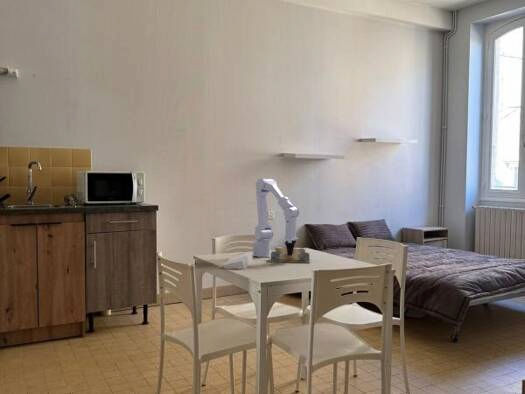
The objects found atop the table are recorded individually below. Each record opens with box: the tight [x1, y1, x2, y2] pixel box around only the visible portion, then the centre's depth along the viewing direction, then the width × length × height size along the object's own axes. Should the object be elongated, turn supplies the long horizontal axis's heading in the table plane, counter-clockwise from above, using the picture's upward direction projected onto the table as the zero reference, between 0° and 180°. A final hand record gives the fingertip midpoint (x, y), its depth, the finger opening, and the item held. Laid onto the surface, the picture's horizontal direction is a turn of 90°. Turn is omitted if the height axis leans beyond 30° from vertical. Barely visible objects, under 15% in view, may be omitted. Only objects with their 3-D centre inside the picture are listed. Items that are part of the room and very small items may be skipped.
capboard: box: [269, 250, 311, 264], centre depth 274 cm, size 21×11×4 cm, turn 83°
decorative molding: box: [222, 250, 254, 270], centre depth 263 cm, size 34×5×10 cm
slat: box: [274, 246, 306, 260], centre depth 274 cm, size 16×2×6 cm, turn 83°
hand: (290, 254), depth 274 cm, fingers open, 6 cm apart
